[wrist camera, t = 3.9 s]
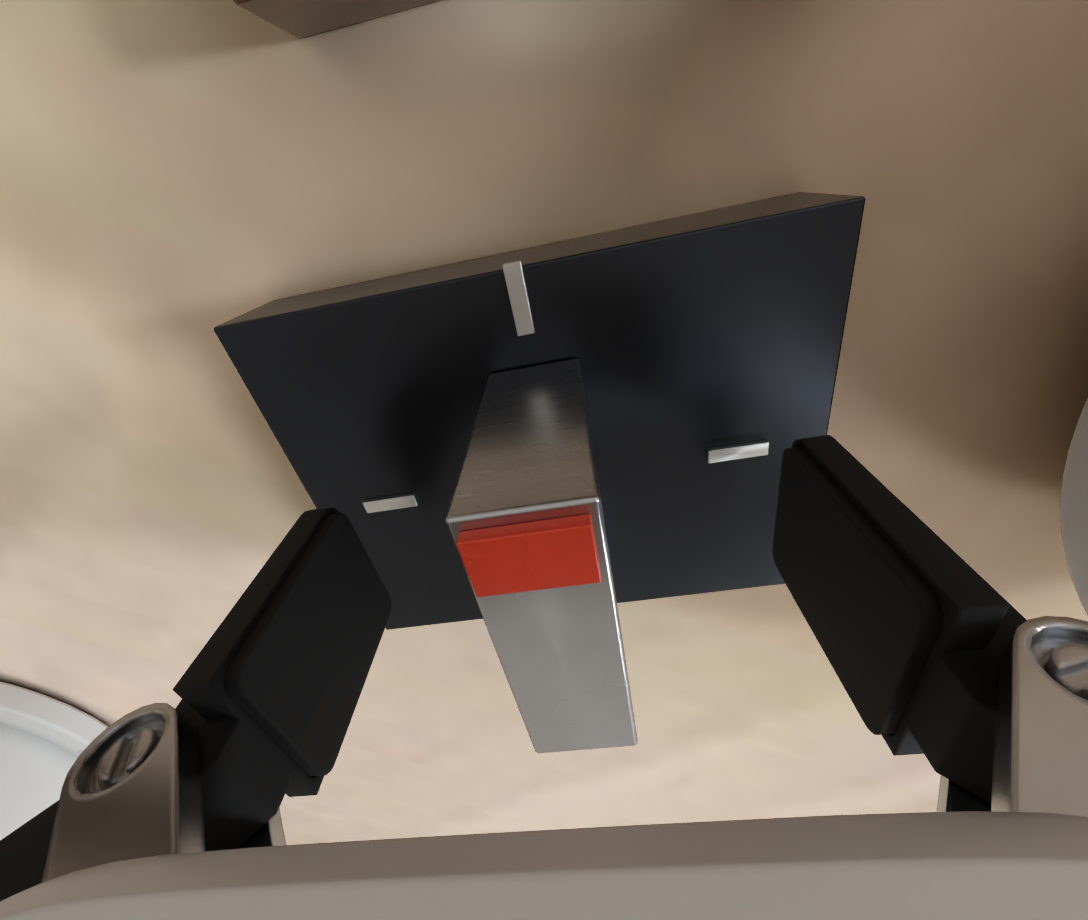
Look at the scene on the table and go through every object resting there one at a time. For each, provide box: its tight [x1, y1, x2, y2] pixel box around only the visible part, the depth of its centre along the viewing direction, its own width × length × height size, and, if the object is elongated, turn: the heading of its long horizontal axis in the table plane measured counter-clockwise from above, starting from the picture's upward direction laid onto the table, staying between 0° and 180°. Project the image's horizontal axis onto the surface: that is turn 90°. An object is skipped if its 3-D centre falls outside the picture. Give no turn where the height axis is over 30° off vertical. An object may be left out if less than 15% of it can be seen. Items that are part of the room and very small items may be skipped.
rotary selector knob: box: [445, 359, 638, 753], centre depth 9 cm, size 6×2×5 cm, turn 11°
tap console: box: [214, 192, 865, 629], centre depth 12 cm, size 13×10×3 cm
